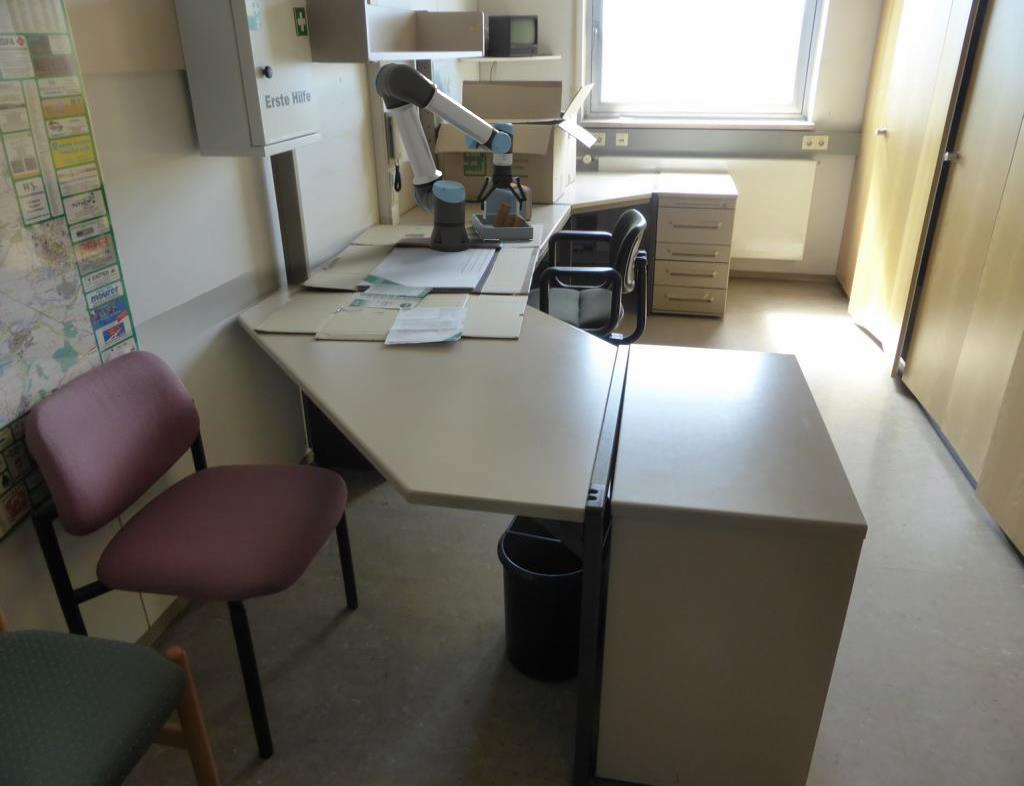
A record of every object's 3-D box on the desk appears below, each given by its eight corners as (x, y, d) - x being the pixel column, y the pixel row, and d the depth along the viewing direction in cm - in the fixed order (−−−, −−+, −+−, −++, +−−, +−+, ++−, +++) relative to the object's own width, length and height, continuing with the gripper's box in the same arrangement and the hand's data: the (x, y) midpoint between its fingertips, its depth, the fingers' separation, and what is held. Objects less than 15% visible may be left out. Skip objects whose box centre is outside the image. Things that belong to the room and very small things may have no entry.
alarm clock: (533, 220, 323) (535, 183, 317) (506, 224, 313) (507, 186, 307) (509, 214, 334) (510, 178, 328) (481, 218, 324) (482, 181, 317)
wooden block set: (522, 239, 293) (532, 215, 291) (504, 233, 288) (515, 208, 286) (502, 228, 307) (511, 205, 305) (485, 222, 302) (494, 198, 300)
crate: (482, 241, 284) (482, 228, 282) (472, 225, 309) (472, 214, 307) (532, 240, 288) (533, 227, 286) (518, 225, 313) (518, 213, 310)
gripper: (472, 165, 281) (471, 220, 290) (535, 165, 286) (532, 220, 295) (469, 162, 288) (469, 216, 296) (531, 163, 293) (528, 216, 301)
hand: (500, 218), depth 296 cm, fingers open, 13 cm apart
